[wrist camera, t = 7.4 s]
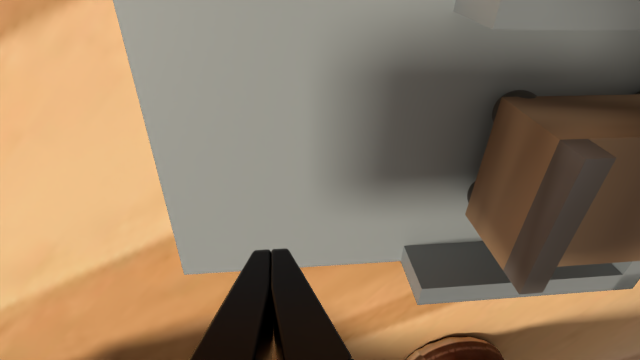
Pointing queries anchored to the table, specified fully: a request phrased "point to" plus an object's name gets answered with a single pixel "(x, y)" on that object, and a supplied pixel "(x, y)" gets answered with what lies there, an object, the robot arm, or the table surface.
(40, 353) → the table surface
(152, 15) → the dock
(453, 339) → the coffee cup
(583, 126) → the block
